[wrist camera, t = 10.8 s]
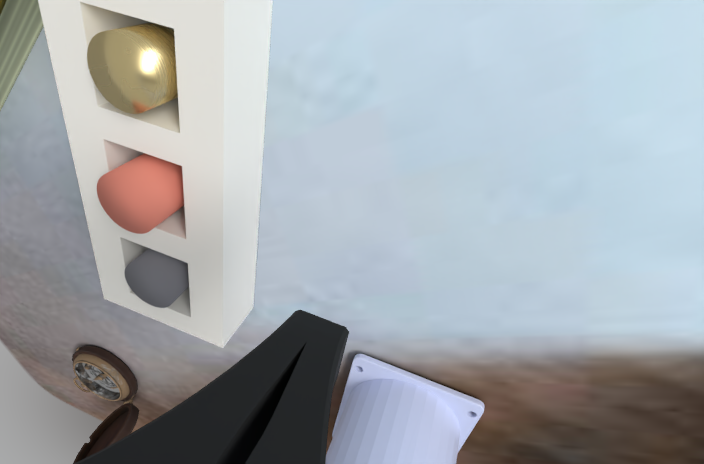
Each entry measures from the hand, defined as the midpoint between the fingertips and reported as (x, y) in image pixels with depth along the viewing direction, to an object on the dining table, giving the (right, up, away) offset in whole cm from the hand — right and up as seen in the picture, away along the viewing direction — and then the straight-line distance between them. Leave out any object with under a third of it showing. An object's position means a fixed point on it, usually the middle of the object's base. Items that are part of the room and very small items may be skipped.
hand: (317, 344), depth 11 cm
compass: (-21, -10, +28) cm, 36 cm away
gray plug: (-9, +2, +15) cm, 17 cm away
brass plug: (-7, +11, +9) cm, 15 cm away
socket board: (-8, +6, +12) cm, 15 cm away
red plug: (-8, +6, +11) cm, 15 cm away
